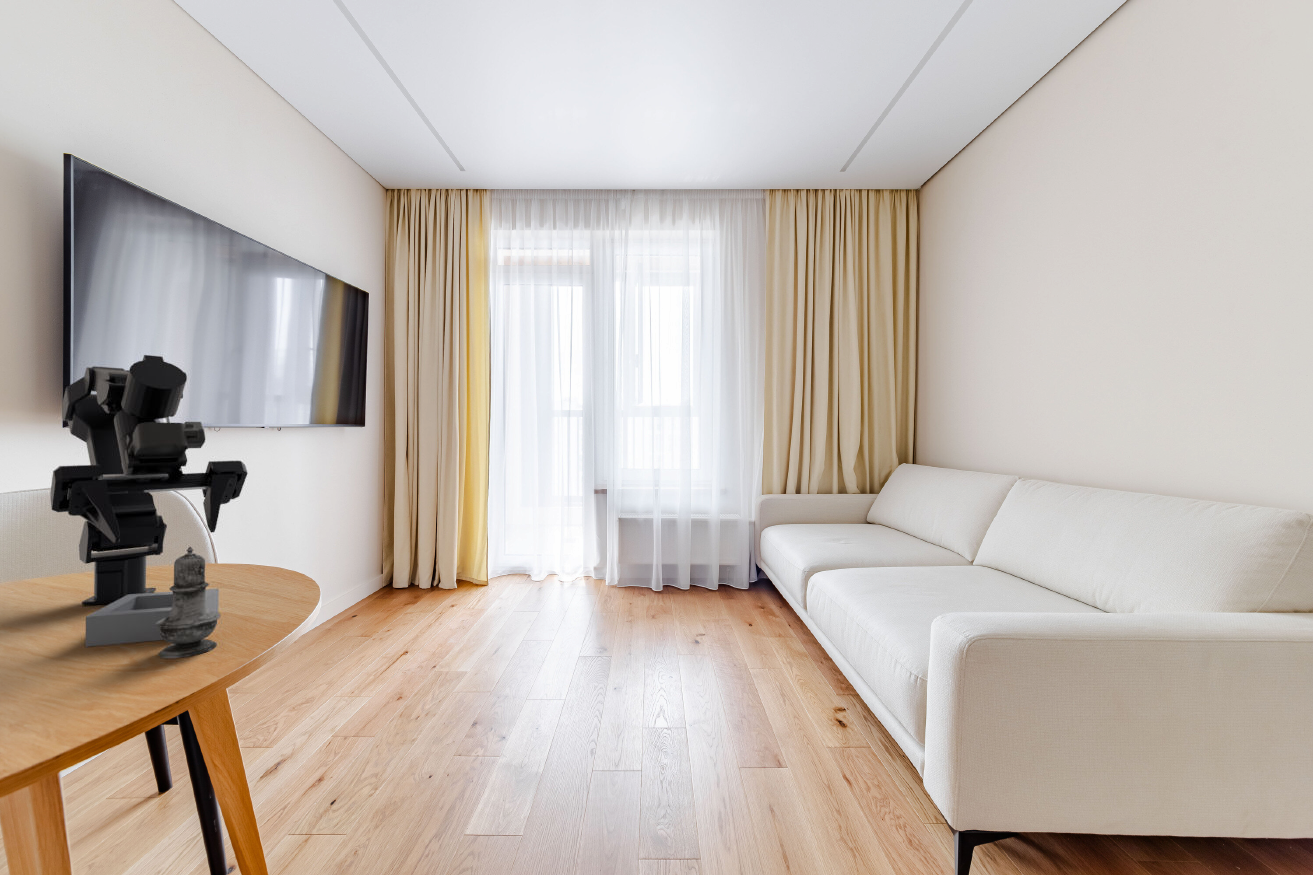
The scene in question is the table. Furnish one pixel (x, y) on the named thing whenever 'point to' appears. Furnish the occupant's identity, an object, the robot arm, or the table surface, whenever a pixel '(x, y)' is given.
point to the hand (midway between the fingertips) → (167, 535)
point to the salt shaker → (188, 611)
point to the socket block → (135, 618)
